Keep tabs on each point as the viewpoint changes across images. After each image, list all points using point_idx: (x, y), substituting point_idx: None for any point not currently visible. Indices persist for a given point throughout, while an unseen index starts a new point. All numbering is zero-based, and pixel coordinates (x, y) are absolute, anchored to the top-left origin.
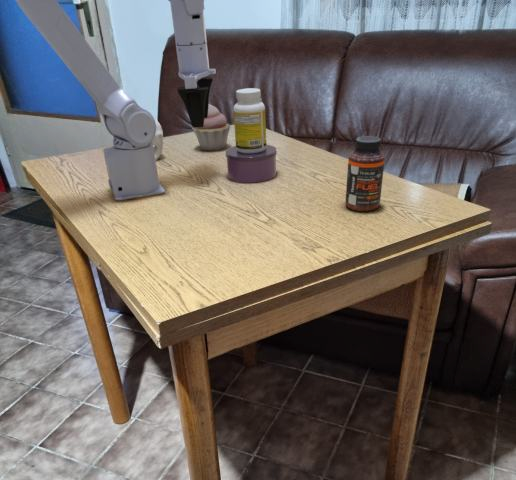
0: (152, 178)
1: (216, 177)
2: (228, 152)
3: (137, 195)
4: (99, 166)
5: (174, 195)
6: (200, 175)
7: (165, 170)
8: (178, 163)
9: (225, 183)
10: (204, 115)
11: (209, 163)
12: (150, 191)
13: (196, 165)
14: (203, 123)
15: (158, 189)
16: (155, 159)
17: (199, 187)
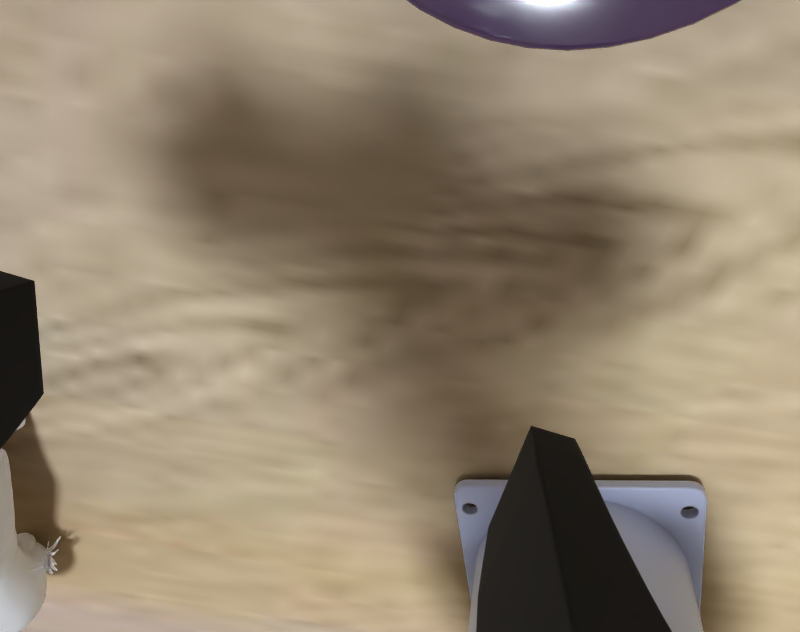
0: (684, 595)
1: (502, 114)
2: (563, 14)
3: (699, 607)
4: (103, 629)
5: (759, 439)
6: (406, 221)
7: (231, 399)
8: (98, 308)
9: (698, 68)
10: (11, 325)
11: (124, 104)
12: (683, 555)
13: (160, 206)
14: (582, 461)
15: (655, 512)
16: (25, 418)
17: (685, 276)
